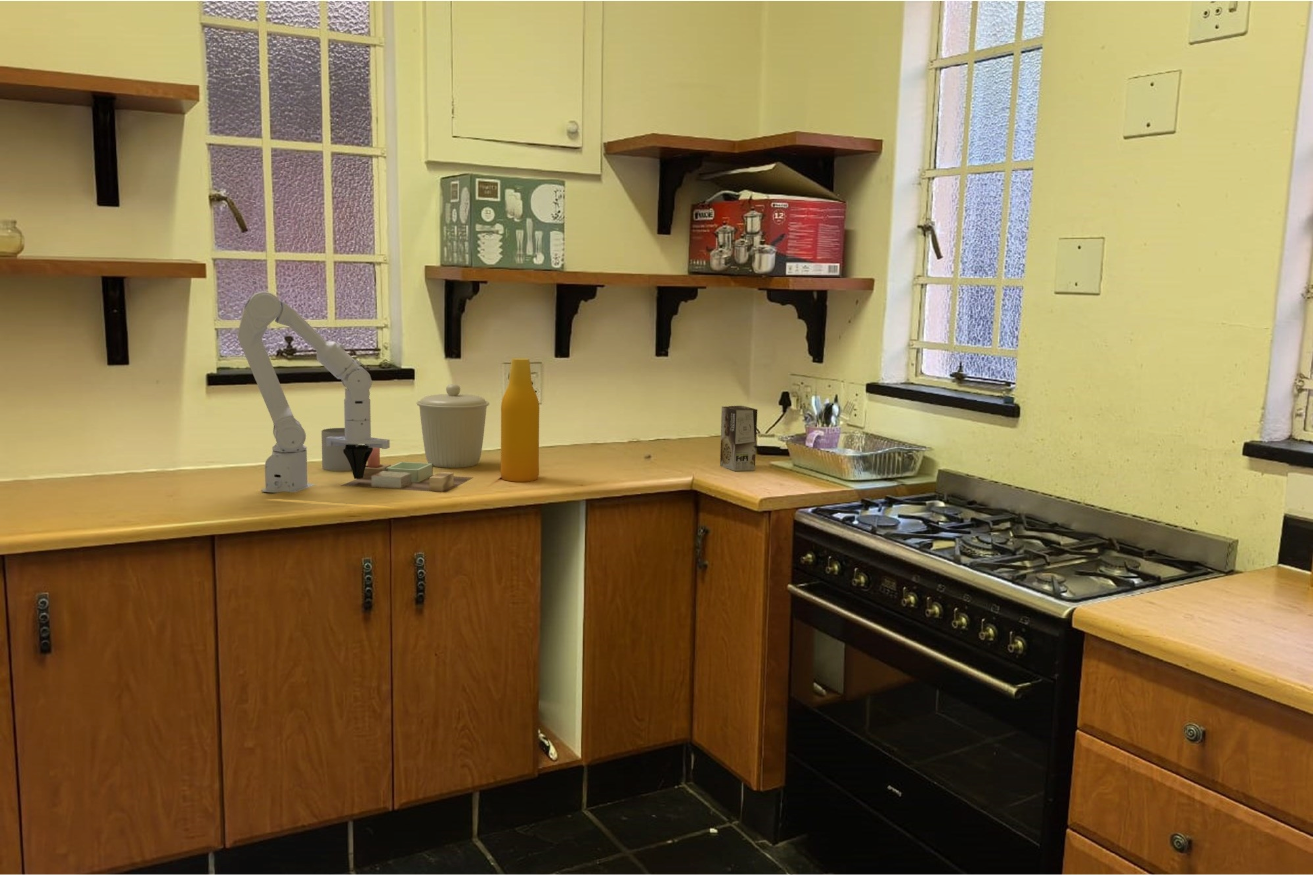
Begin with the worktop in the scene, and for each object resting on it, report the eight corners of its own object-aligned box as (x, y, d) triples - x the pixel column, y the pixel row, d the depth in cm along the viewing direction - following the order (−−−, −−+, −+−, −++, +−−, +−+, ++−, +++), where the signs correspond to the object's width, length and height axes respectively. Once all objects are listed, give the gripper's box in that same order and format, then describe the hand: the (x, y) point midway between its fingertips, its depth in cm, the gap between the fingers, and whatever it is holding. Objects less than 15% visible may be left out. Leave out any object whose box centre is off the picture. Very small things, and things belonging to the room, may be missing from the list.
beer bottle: (535, 482, 248) (536, 361, 244) (496, 481, 249) (497, 359, 244) (541, 475, 257) (542, 358, 253) (504, 474, 258) (504, 357, 253)
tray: (418, 482, 242) (418, 470, 242) (385, 480, 243) (385, 468, 243) (432, 475, 251) (432, 463, 250) (401, 473, 252) (401, 461, 252)
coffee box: (756, 470, 272) (758, 409, 270) (733, 471, 270) (736, 409, 267) (740, 464, 281) (742, 405, 278) (718, 465, 278) (721, 405, 276)
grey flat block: (400, 488, 235) (400, 477, 235) (371, 486, 236) (371, 475, 236) (411, 483, 241) (411, 472, 240) (382, 481, 242) (382, 471, 242)
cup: (363, 468, 261) (362, 428, 260) (350, 474, 253) (349, 433, 252) (330, 466, 262) (329, 427, 260) (316, 472, 254) (315, 432, 252)
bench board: (445, 494, 232) (445, 478, 232) (338, 488, 236) (338, 472, 236) (473, 479, 250) (473, 465, 249) (373, 473, 254) (372, 459, 253)
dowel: (376, 478, 246) (376, 448, 245) (365, 477, 246) (365, 448, 245) (382, 475, 249) (381, 446, 248) (370, 475, 249) (370, 446, 248)
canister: (450, 457, 279) (450, 379, 276) (503, 465, 270) (503, 384, 267) (402, 466, 264) (401, 384, 261) (456, 475, 255) (456, 389, 252)
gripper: (394, 418, 240) (395, 476, 242) (336, 415, 243) (337, 473, 245) (381, 422, 233) (382, 482, 235) (321, 419, 236) (322, 478, 238)
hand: (358, 478), depth 240 cm, fingers closed
